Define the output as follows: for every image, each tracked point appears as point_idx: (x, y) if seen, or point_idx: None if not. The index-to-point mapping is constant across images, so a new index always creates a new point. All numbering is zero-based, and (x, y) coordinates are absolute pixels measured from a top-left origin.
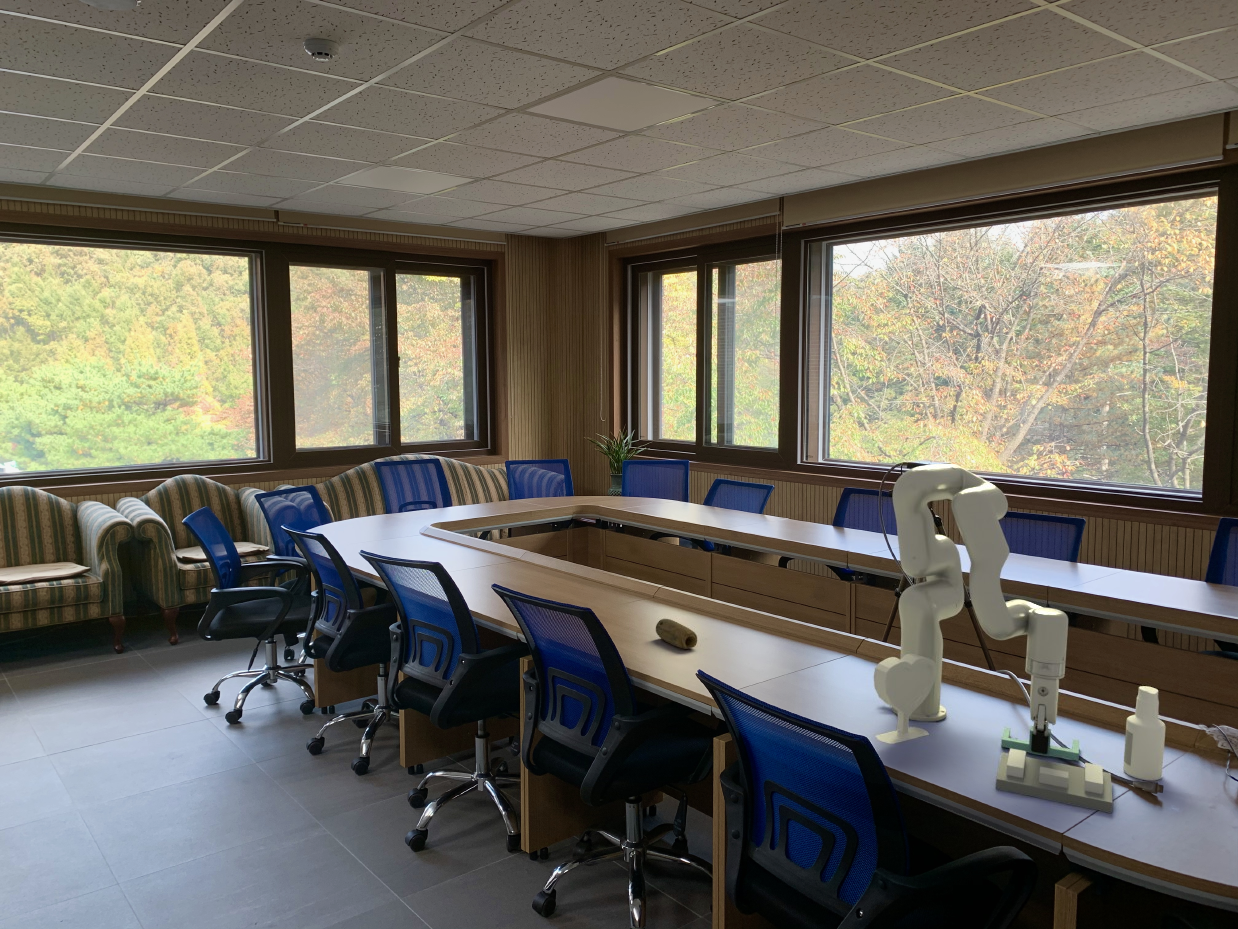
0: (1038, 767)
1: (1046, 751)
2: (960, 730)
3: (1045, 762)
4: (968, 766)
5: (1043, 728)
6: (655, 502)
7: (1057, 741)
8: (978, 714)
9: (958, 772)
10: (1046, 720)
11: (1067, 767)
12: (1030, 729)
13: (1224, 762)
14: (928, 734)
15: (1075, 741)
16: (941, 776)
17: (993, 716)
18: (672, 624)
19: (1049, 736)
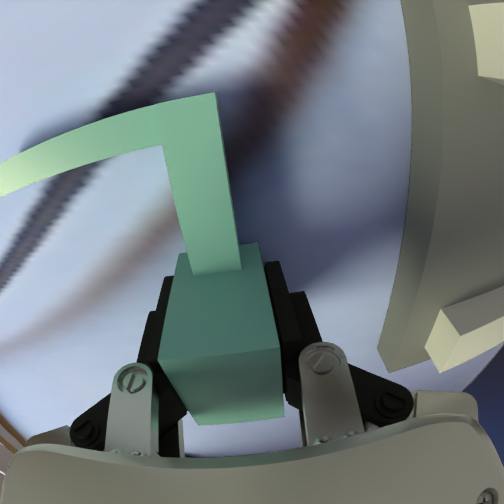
0: (484, 259)
1: (282, 272)
2: (200, 437)
3: (444, 248)
4: (422, 373)
5: (475, 404)
6: (3, 474)
7: (23, 248)
8: (69, 418)
9: (450, 369)
10: (155, 434)
11: (466, 152)
12: (269, 418)
13: None
14: (275, 451)
15: (11, 177)
16: (465, 373)
17: (46, 399)
18: None
19: (275, 334)
